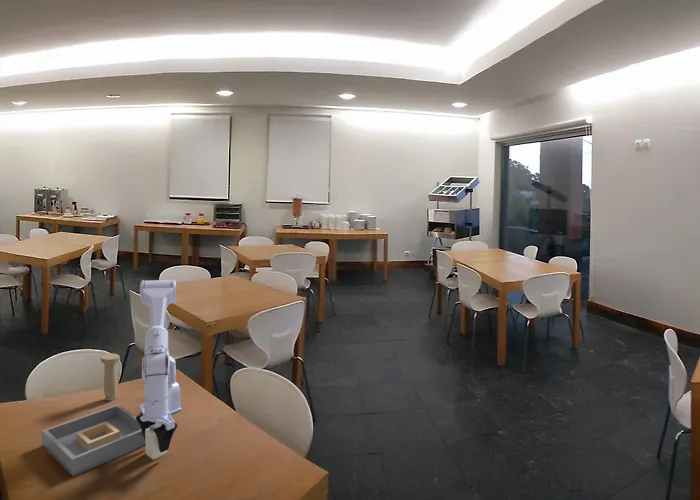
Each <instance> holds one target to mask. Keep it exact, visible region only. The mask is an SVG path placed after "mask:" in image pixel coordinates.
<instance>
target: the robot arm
mask: <svg viewBox="0 0 700 500" xmlns="http://www.w3.org/2000/svg"><path fill="white" fill-rule="evenodd" d="M176 282H177V281H176V280H175V279H162V280H160V279H158V280H157V279H156V280H146V279H145V280H144V279H142V280H141V281H140V284H139V300H140V301H141V303H142V304H143V305H145V306H146V307H149V323H150V327H149V329H147V330H146V331H145V337H144V338H145V339H144V355H143V356H142V360H141V386H142V387H143V389H144V391H143V393H144V394H143V397H144V401H143V402H144V403H142V404H140V405H138V412H139V413H140V414H139V415H136V416H137V417H136V420H137V421H138V423H139V425H140V427H141V429H142V433H143V436H144V439H145V429H148V428H149V426H152V425H154V424H156V423H160V424H161V426H160V427H158V428H155V429H154V432H155V434H156V436H157V439H158V445H159V450H160V452H164V451H166V450H169V449H170V444H171V441H172V438H173V435H174V433H175V432H176V430H177V428H178V423H176V421H175V419H173V417H172V415H171V414H174V413H176V412H179V411H181V410H183V409H182V407H181V388H180V384H179V383H178V382H177V372H176V371H177V370H176V369H177V365H176V360H175V358H174V357H173V356H171V355H170V352H169V331H168V330H167V309H168V307H169V305H171V304H174V303H175V302H176V298H177V294H176V292H177V290H176V289H177V284H176Z"/></svg>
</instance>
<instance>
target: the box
mask: <svg viewBox="0 0 700 500" xmlns="http://www.w3.org/2000/svg"><path fill="white" fill-rule="evenodd" d="M137 416H138V415H135V414H134V413H133V412H131V411H129V410H128V409H126V408H124V407H123V406H121V405H120V404H118V403H117V404H114V405H112V406H109V407H106V408H103V409H100V410H97V411H94V412H92V413H88V414H86V415H82V416H80V417H77V418H73V419H70V420H68V421H65V422H62V423H60V424H57V425H53V426H50V427H47V428H44V429H42V430H41V443H42V444H41V446H42V447H43V449H45V450H46V452H48V453H49V455H51V456H52V457H53V458H54V459H55V461H57V463H59V465H61V466H62V468H63V469H64V470H65V471H66V472H67V473H68V474H70V476H71V477H76V476H78V475H80V474H83V473H85V472H87V471H89V470H91V469H94V468H96V467H99V466H101V465H103V464H104V463H107V462H110V461H112V460H115V459H117V458H119V457H122V456H123V455H126V454H128V453H130V452H133V451H134V450H137V449H139V448H141V447H144V446H145V439H144V436H143V433H142V429H141V427H140V425H139V423H138V421H137V420H136V417H137Z"/></svg>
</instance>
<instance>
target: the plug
mask: <svg viewBox="0 0 700 500" xmlns="http://www.w3.org/2000/svg"><path fill="white" fill-rule="evenodd" d="M160 426H161V424H160V423H156V424H154V425H152V426H149V428H148V429H145V445H144V446H145V455H146V456H147V457H149V458H150V459H152V460H153V461H154V460H156V459H159V458H160V457H162V456H165V455H167V454H168V453H169V452H168V450H169V449H168V450H166V451H164V452H160V450H159V445H158V439H157V436H156V434H155V432H154V429H155V428H158V427H160Z"/></svg>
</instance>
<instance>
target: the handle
mask: <svg viewBox="0 0 700 500" xmlns="http://www.w3.org/2000/svg"><path fill="white" fill-rule="evenodd" d="M120 359H121V356H120V355H119V354H117V353H104V354H102V355H100V356H99V360H100V362H101V364H104V369H103V371H104V373H103V390H104V391H103V392H104V396H105V397H104V398H105V401H106V402H109V401H110V402H111V401H114V400H116V399H117V391H118V378H117V377H118V376H117V366H116V365H117V363H118V362H119V361H120Z"/></svg>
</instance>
